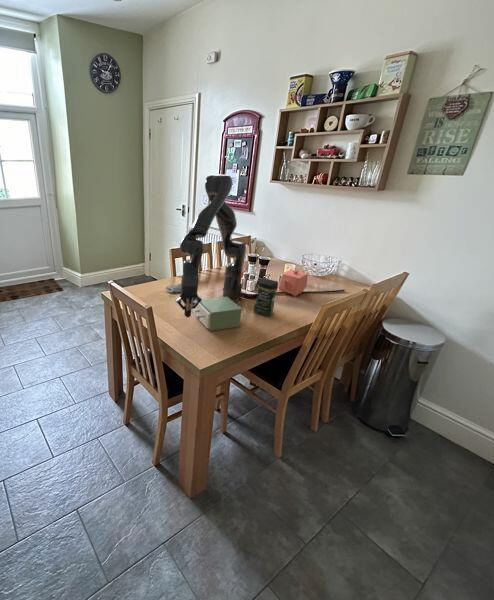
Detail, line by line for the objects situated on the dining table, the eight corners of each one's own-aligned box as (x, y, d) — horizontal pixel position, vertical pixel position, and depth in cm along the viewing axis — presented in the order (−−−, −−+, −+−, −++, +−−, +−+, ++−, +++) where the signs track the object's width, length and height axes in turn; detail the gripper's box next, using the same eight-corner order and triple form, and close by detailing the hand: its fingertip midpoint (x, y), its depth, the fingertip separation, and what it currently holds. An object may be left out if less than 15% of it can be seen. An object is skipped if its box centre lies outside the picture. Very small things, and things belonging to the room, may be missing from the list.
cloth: (176, 296, 190) (176, 292, 189) (161, 289, 200) (161, 285, 199) (206, 286, 206) (207, 282, 205) (191, 279, 215) (191, 276, 214)
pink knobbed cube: (292, 300, 188) (297, 277, 182) (272, 294, 196) (276, 271, 190) (308, 290, 202) (313, 269, 196) (289, 285, 210) (293, 264, 204)
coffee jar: (251, 312, 173) (256, 279, 166) (257, 307, 179) (262, 275, 171) (268, 317, 168) (274, 284, 160) (275, 312, 173) (281, 279, 166)
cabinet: (210, 330, 154) (211, 312, 150) (197, 317, 167) (199, 299, 163) (239, 326, 159) (241, 308, 155) (225, 313, 171) (227, 296, 167)
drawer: (199, 330, 153) (200, 315, 150) (188, 317, 165) (189, 303, 161) (234, 324, 158) (236, 310, 155) (221, 312, 170) (223, 299, 167)
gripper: (179, 287, 143) (177, 321, 151) (206, 284, 147) (203, 318, 154) (173, 281, 150) (171, 314, 157) (199, 278, 154) (197, 311, 161)
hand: (187, 316), depth 156 cm, fingers closed
